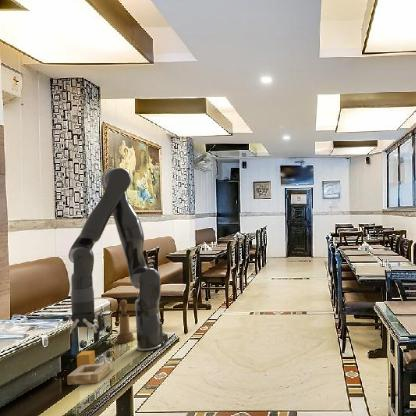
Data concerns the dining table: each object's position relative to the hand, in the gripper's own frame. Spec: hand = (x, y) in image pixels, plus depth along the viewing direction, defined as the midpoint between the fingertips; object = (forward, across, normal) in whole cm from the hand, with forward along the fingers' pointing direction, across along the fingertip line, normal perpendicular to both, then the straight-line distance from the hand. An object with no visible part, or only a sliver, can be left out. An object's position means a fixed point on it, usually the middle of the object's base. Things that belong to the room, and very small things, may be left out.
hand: (84, 342), depth 159 cm
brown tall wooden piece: (+9, -4, -29) cm, 30 cm away
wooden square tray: (+9, -7, +11) cm, 16 cm away
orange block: (+9, 0, 0) cm, 9 cm away
